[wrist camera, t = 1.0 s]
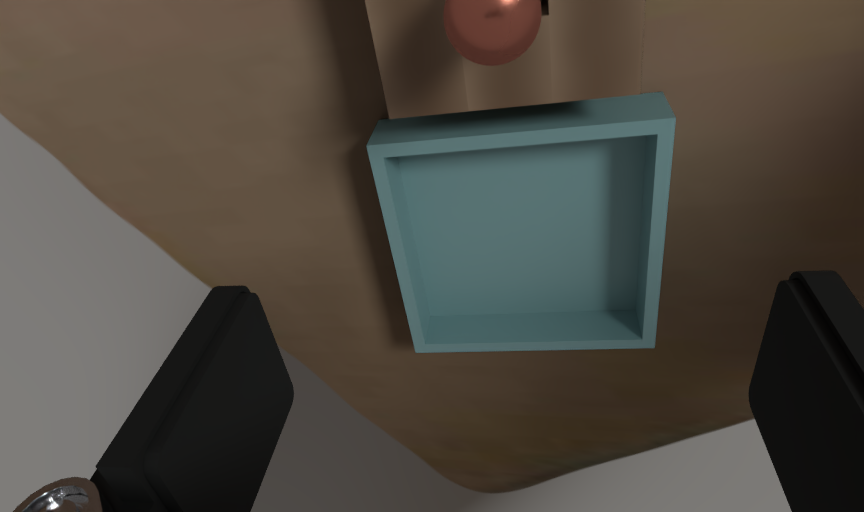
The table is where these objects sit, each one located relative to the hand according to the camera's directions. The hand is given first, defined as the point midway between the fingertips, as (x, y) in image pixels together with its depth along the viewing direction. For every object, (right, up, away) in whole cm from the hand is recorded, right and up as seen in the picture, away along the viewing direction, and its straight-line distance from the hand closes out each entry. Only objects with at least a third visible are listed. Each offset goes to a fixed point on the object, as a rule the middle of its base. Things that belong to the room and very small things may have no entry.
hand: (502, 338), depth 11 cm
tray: (+5, +4, +27) cm, 28 cm away
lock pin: (+2, +16, +17) cm, 23 cm away
